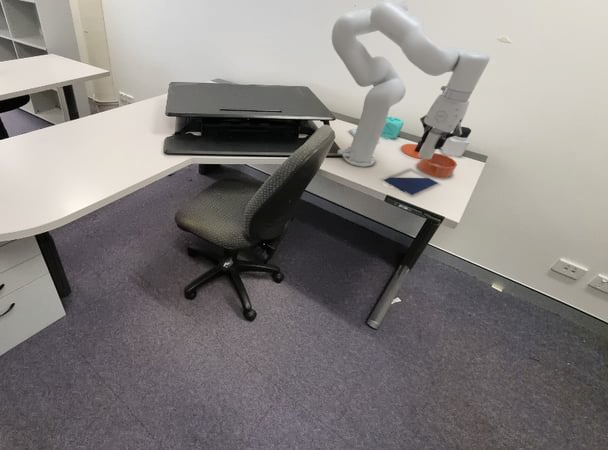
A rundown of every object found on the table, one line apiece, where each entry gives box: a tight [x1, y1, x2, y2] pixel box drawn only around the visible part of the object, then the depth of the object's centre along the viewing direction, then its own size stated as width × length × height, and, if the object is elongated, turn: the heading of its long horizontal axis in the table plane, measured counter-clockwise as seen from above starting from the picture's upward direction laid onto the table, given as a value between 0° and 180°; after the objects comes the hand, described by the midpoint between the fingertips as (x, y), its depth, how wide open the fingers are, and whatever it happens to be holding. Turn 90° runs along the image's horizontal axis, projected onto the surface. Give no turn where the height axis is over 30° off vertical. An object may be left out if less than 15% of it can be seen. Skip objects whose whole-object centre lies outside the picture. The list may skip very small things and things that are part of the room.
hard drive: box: [349, 128, 357, 137], centre depth 158 cm, size 2×8×12 cm
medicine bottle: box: [440, 125, 472, 157], centre depth 145 cm, size 7×7×12 cm
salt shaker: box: [418, 127, 443, 159], centre depth 119 cm, size 5×5×10 cm
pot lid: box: [400, 140, 424, 160], centre depth 146 cm, size 13×13×6 cm
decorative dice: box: [380, 116, 404, 140], centre depth 158 cm, size 8×8×8 cm
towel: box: [384, 176, 439, 196], centre depth 129 cm, size 17×12×1 cm
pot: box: [417, 152, 458, 179], centre depth 135 cm, size 12×12×5 cm
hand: (430, 144), depth 119 cm, fingers closed on salt shaker, 4 cm apart
